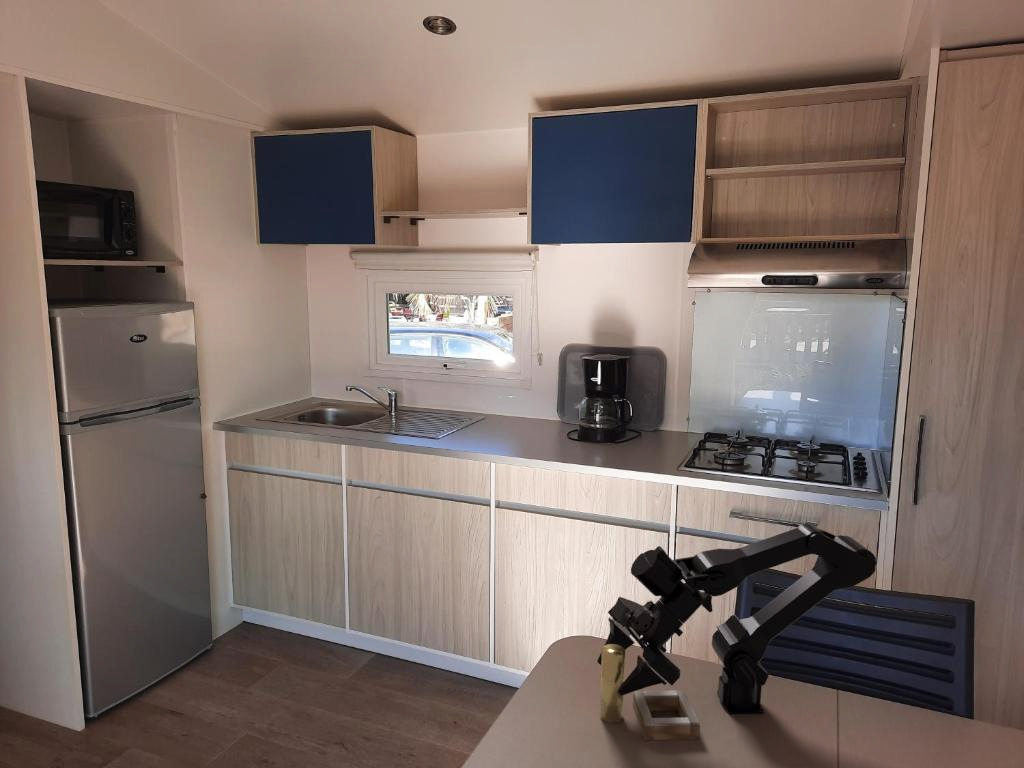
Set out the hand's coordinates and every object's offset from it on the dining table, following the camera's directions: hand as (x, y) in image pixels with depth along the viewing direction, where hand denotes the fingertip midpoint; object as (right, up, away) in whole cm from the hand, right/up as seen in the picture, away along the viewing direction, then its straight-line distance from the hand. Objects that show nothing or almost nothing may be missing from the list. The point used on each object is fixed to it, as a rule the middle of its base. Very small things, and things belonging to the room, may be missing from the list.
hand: (608, 678), depth 126 cm
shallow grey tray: (+10, -8, 0) cm, 12 cm away
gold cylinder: (+1, -7, +1) cm, 7 cm away
